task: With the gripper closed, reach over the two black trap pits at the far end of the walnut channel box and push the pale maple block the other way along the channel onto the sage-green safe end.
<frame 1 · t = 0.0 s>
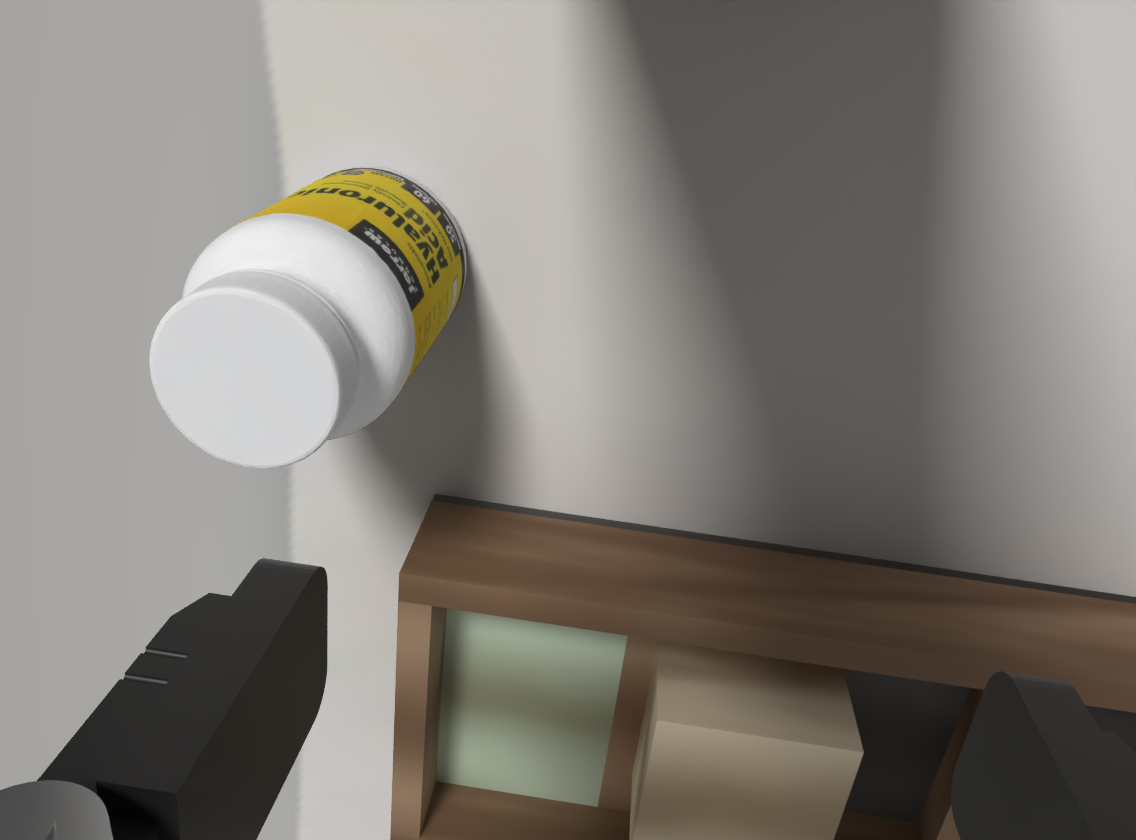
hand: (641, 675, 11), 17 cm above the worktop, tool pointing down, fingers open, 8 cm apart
supplement bottle: (382, 252, 27), on the worktop
block: (732, 722, 31), point 2 cm above the worktop, touching trap box
trap box: (784, 689, 33), on the worktop
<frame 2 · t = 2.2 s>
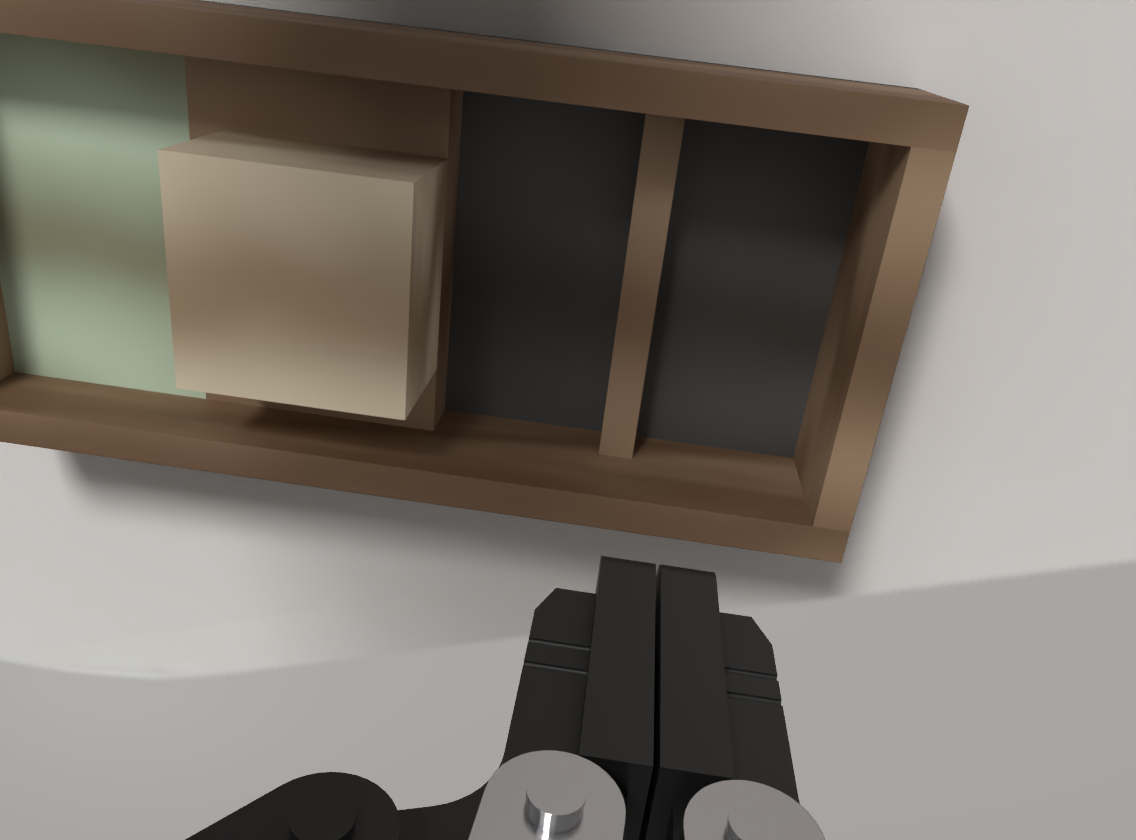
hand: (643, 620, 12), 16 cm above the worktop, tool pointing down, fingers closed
block: (335, 255, 25), point 2 cm above the worktop, touching trap box
trap box: (423, 247, 27), on the worktop
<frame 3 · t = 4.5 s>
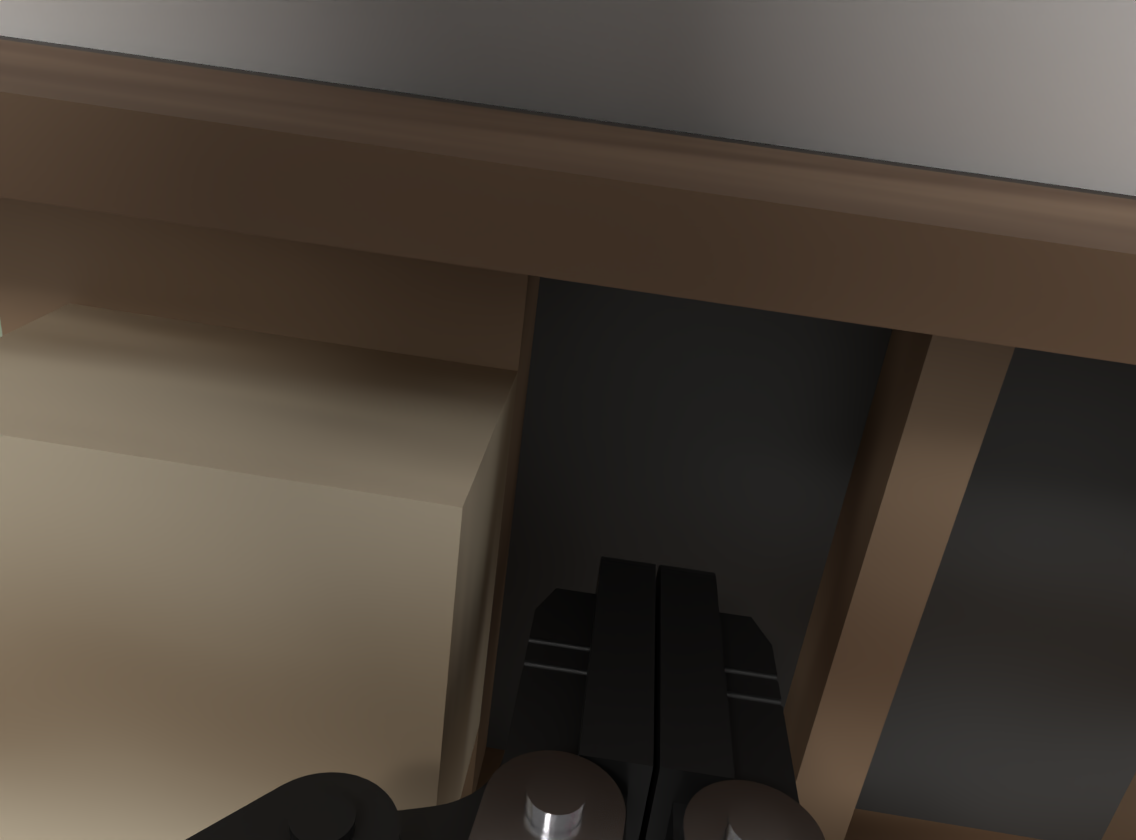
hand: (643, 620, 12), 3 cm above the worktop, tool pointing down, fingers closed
block: (292, 532, 13), point 2 cm above the worktop, touching gripper, trap box
trap box: (456, 488, 15), on the worktop
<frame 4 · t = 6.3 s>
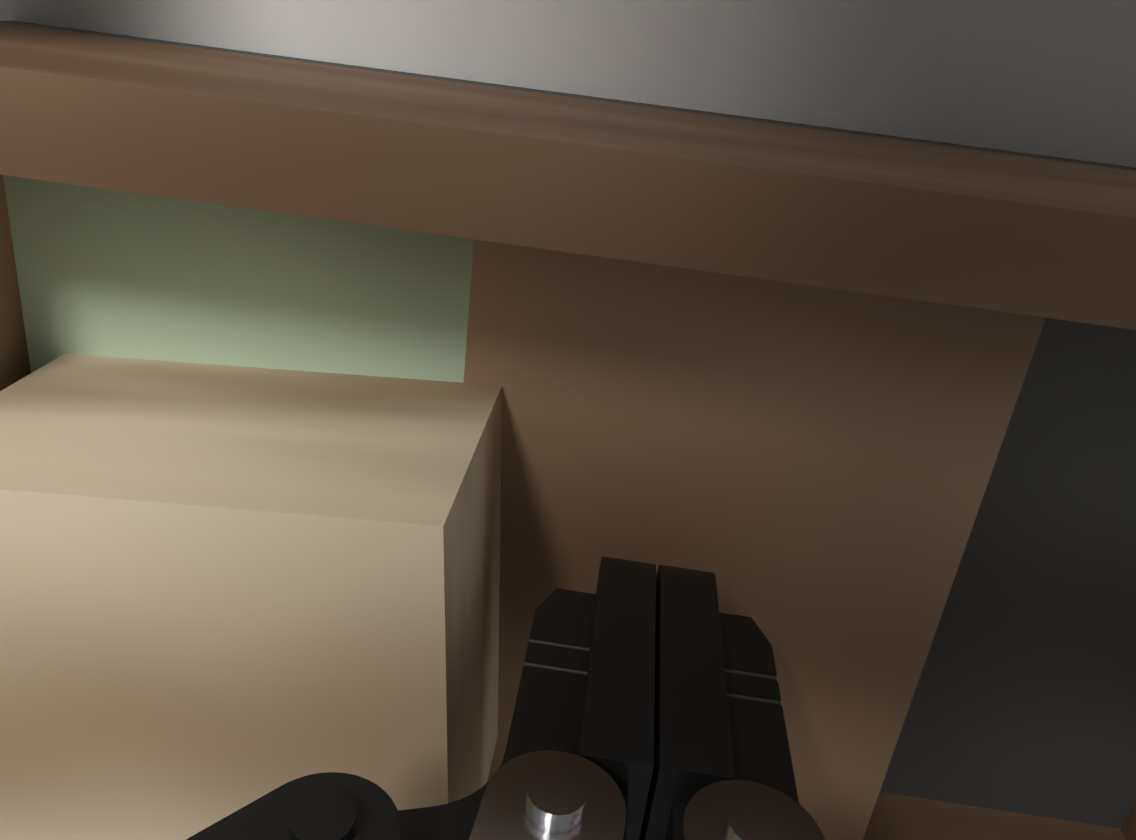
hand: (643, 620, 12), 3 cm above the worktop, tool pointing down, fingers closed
block: (298, 558, 14), point 2 cm above the worktop, touching gripper, trap box
trap box: (845, 527, 15), on the worktop
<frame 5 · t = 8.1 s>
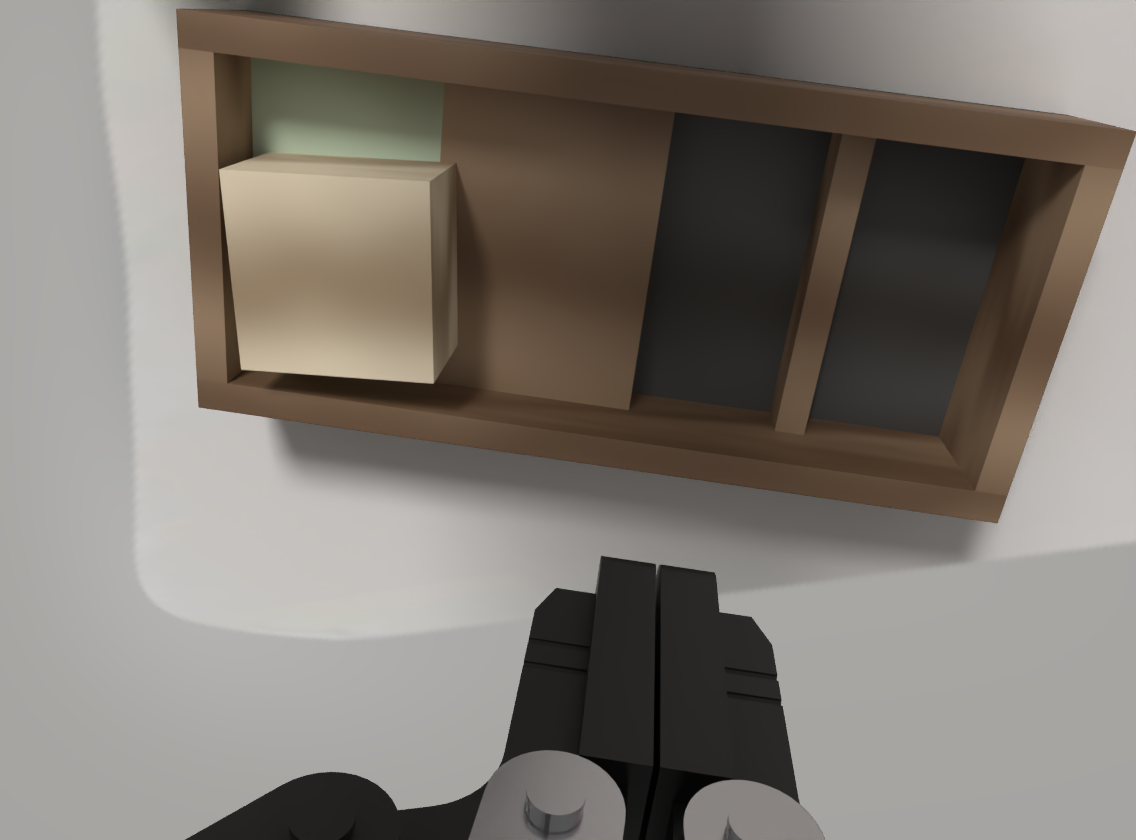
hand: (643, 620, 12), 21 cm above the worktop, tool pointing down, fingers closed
block: (366, 251, 30), point 2 cm above the worktop, touching trap box
trap box: (622, 249, 31), on the worktop
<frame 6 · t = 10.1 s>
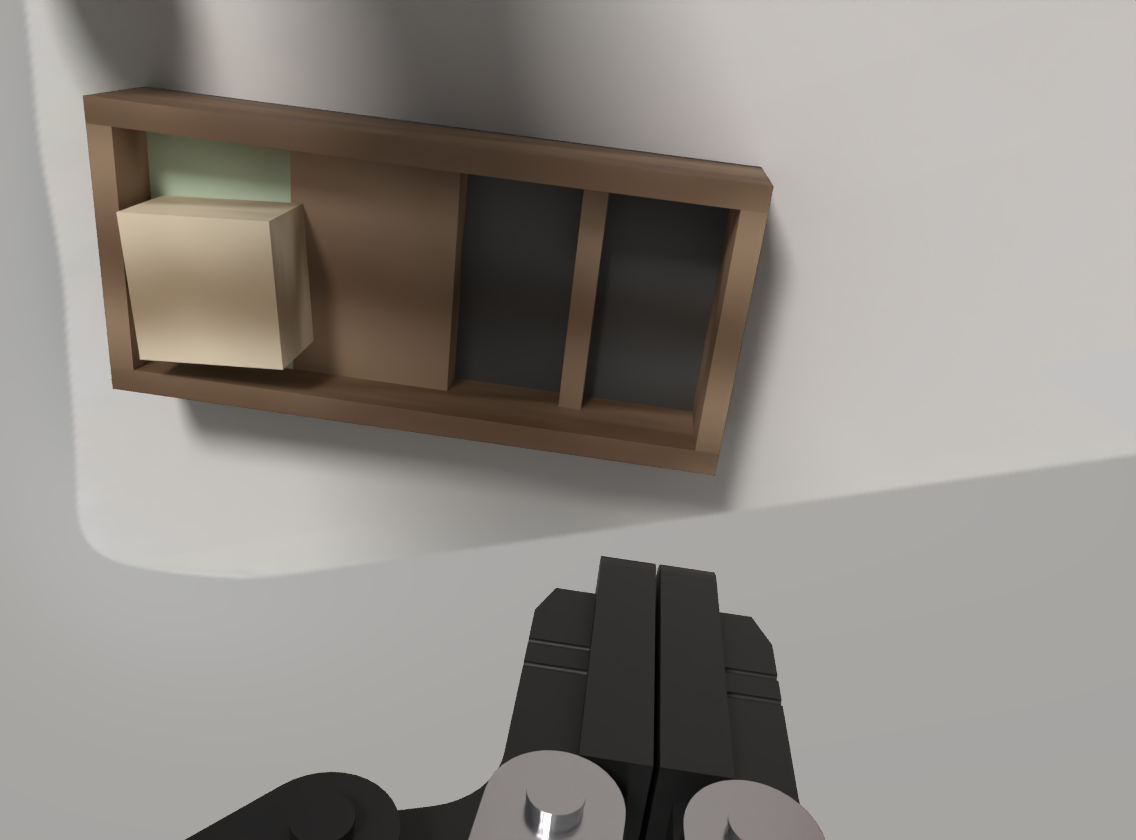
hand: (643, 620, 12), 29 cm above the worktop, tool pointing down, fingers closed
block: (240, 269, 39), point 2 cm above the worktop, touching trap box
trap box: (440, 267, 40), on the worktop
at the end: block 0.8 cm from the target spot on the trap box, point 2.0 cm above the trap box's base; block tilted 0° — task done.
